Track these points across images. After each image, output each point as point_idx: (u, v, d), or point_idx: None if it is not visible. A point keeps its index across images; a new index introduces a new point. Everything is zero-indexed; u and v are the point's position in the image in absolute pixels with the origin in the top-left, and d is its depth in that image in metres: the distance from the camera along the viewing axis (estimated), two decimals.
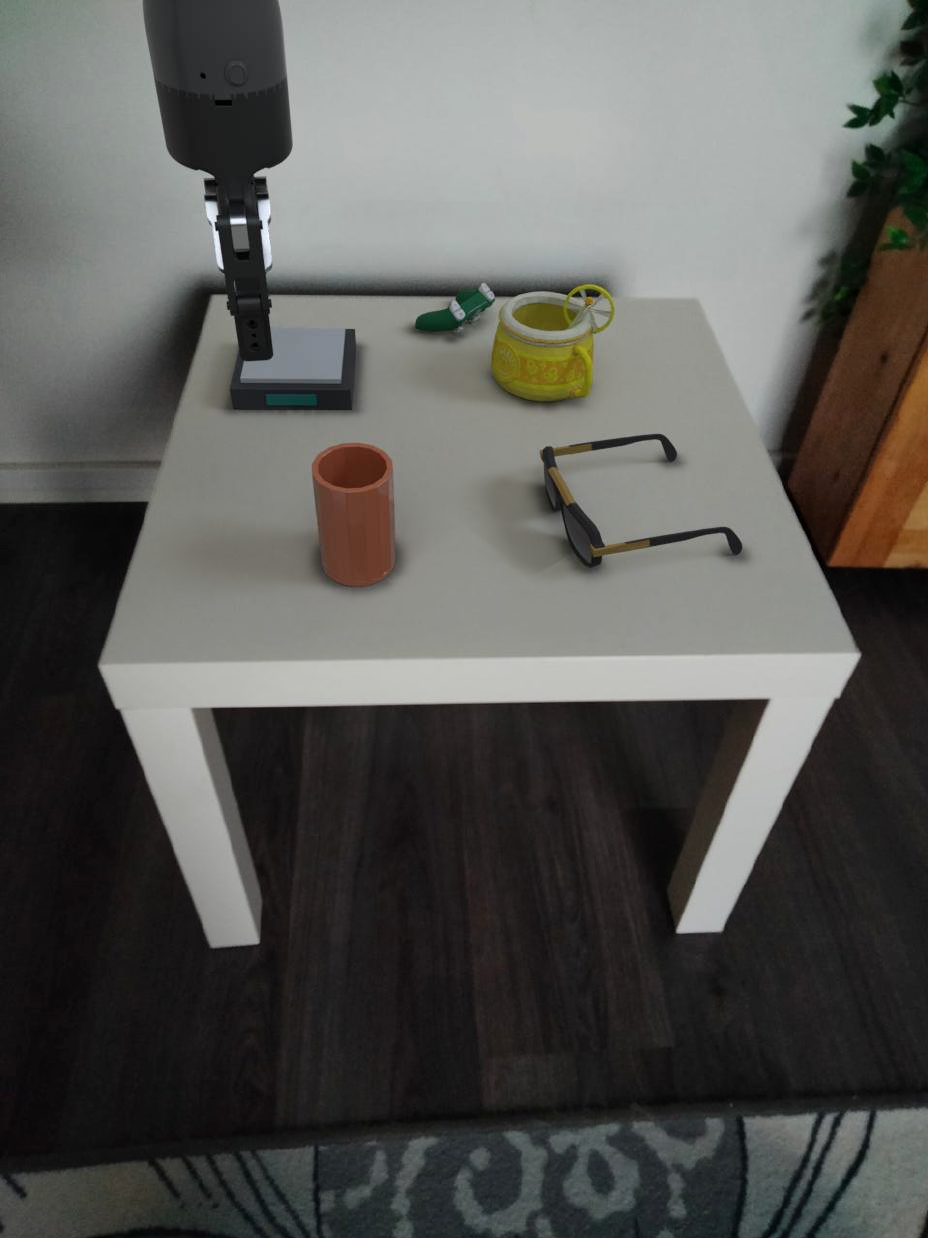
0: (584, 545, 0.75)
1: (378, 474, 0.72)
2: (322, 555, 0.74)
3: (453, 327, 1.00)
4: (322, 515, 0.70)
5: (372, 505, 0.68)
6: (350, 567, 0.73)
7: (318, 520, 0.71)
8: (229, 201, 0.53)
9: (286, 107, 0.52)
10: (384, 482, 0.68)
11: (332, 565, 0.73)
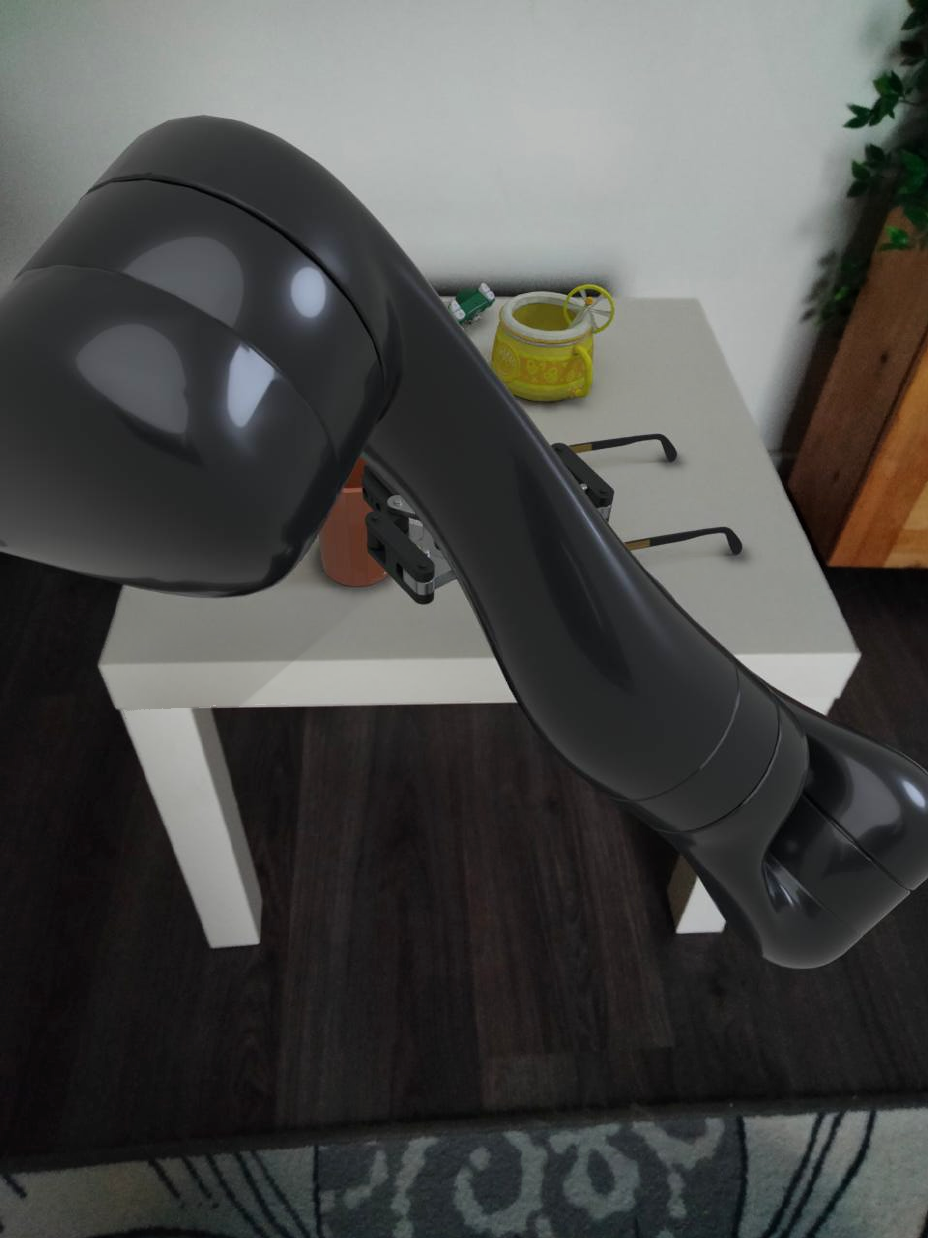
0: None
1: None
2: (322, 555, 0.74)
3: None
4: None
5: None
6: (350, 567, 0.73)
7: None
8: None
9: None
10: None
11: (332, 565, 0.73)
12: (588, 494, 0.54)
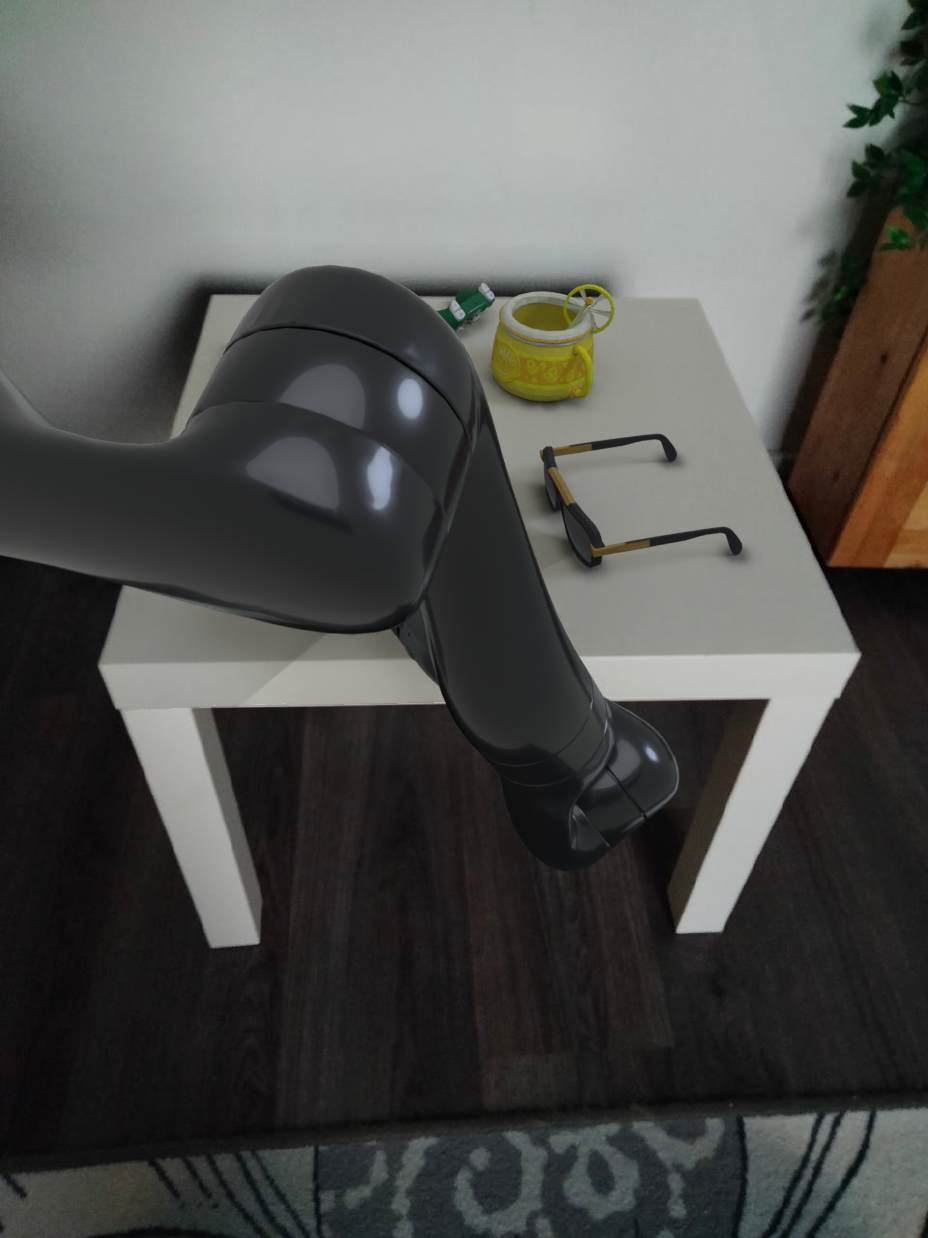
0: (584, 545, 0.75)
1: None
2: None
3: (453, 327, 1.00)
4: None
5: None
6: None
7: None
8: None
9: None
10: None
11: None
12: None
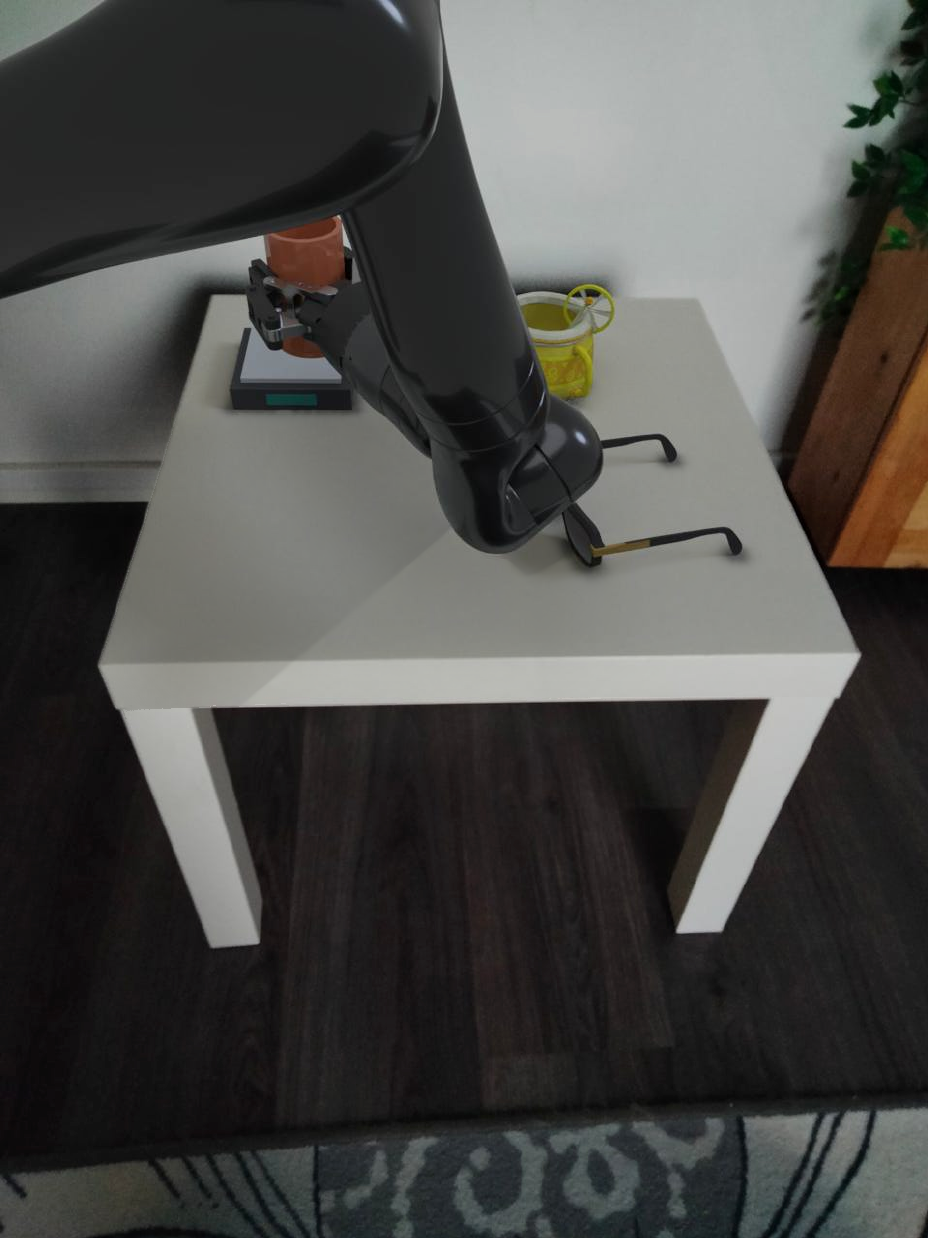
0: (584, 545, 0.75)
1: None
2: None
3: None
4: None
5: (321, 260, 0.70)
6: None
7: None
8: None
9: None
10: (332, 236, 0.70)
11: None
12: None
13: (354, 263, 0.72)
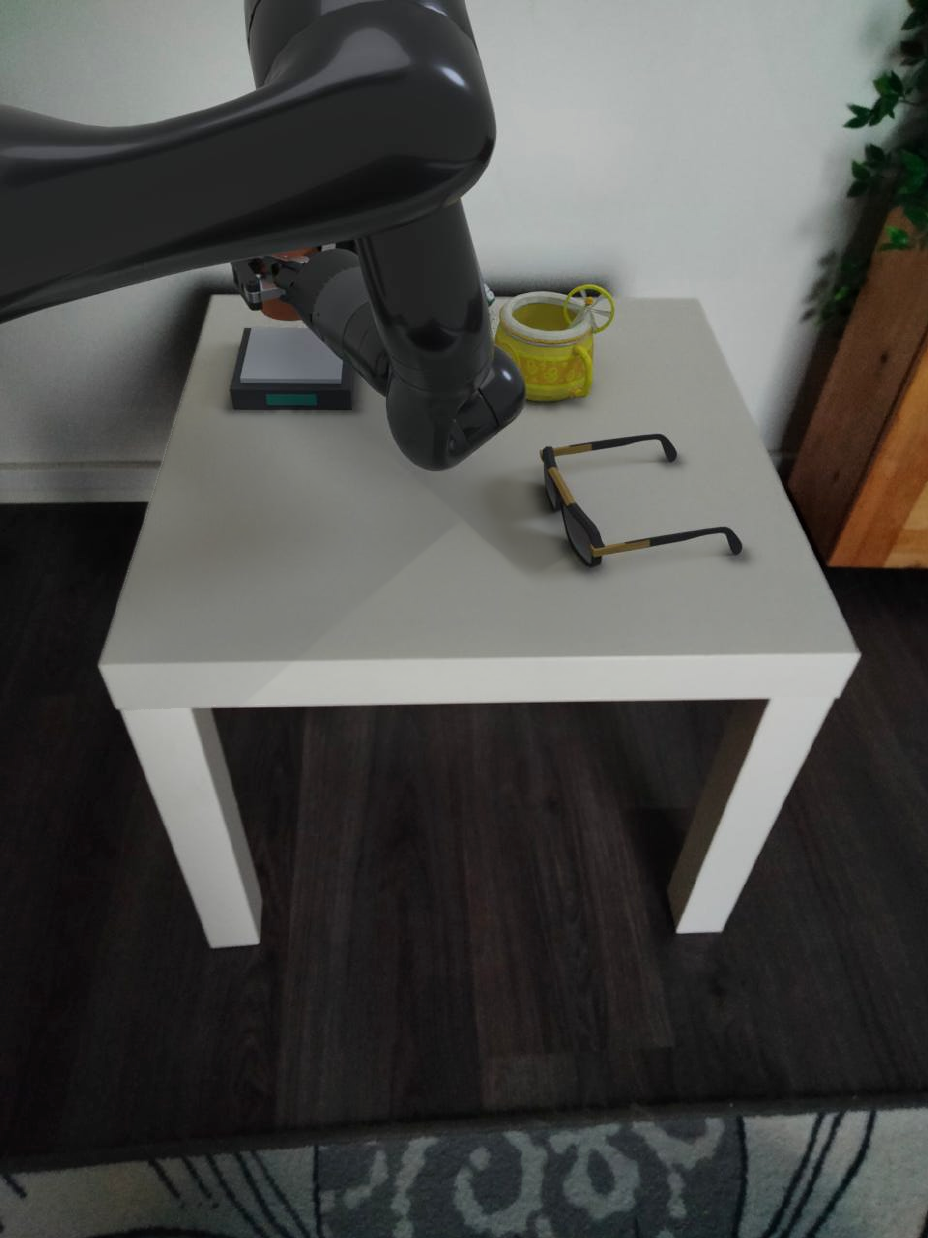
0: (584, 545, 0.75)
1: None
2: None
3: None
4: None
5: None
6: None
7: None
8: None
9: None
10: None
11: (266, 300, 0.86)
12: None
13: None
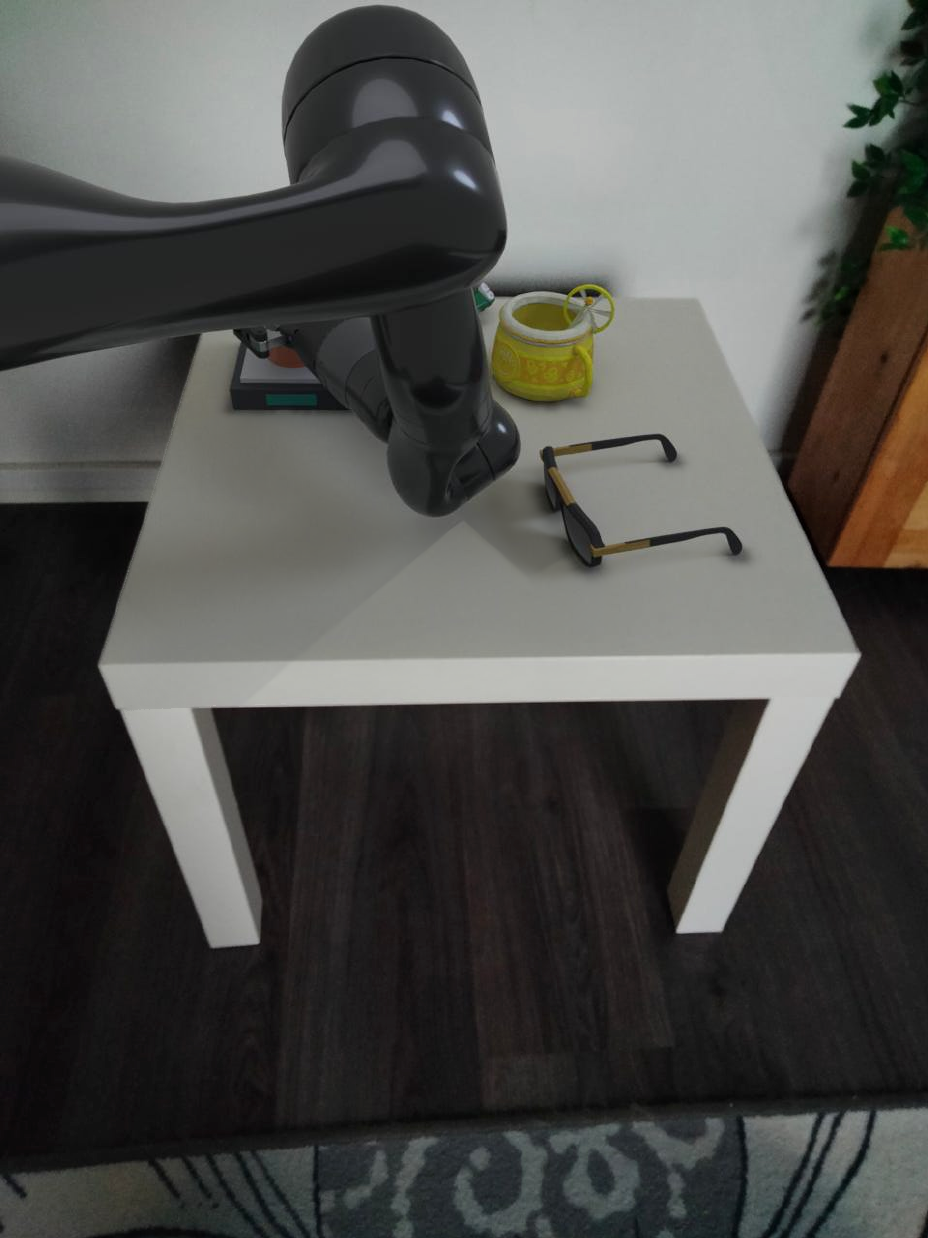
0: (584, 545, 0.75)
1: None
2: None
3: None
4: None
5: None
6: (286, 348, 0.89)
7: None
8: None
9: None
10: None
11: (272, 348, 0.90)
12: None
13: None
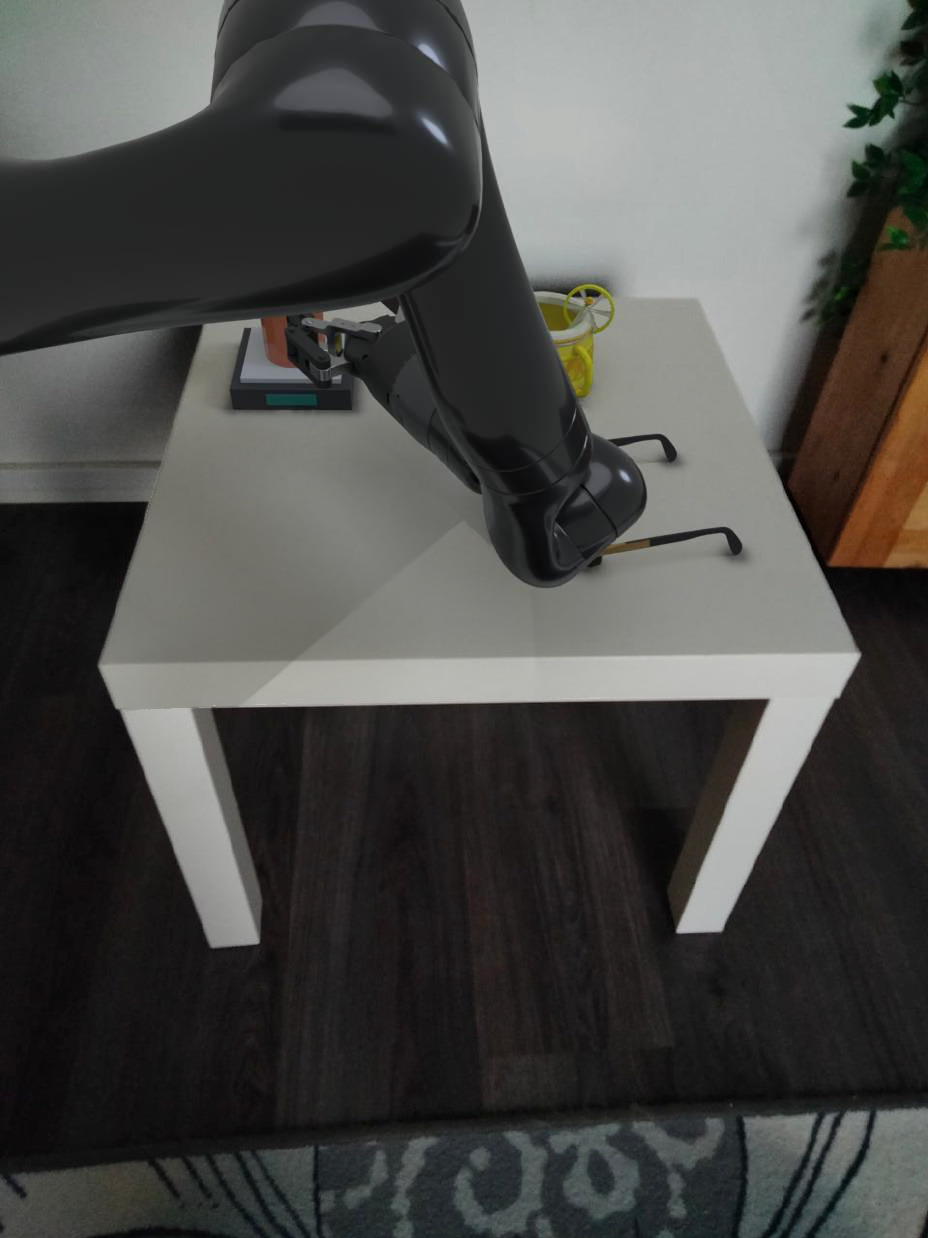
0: None
1: None
2: (264, 342, 0.91)
3: None
4: None
5: None
6: (286, 348, 0.89)
7: None
8: None
9: None
10: None
11: (272, 348, 0.90)
12: None
13: None
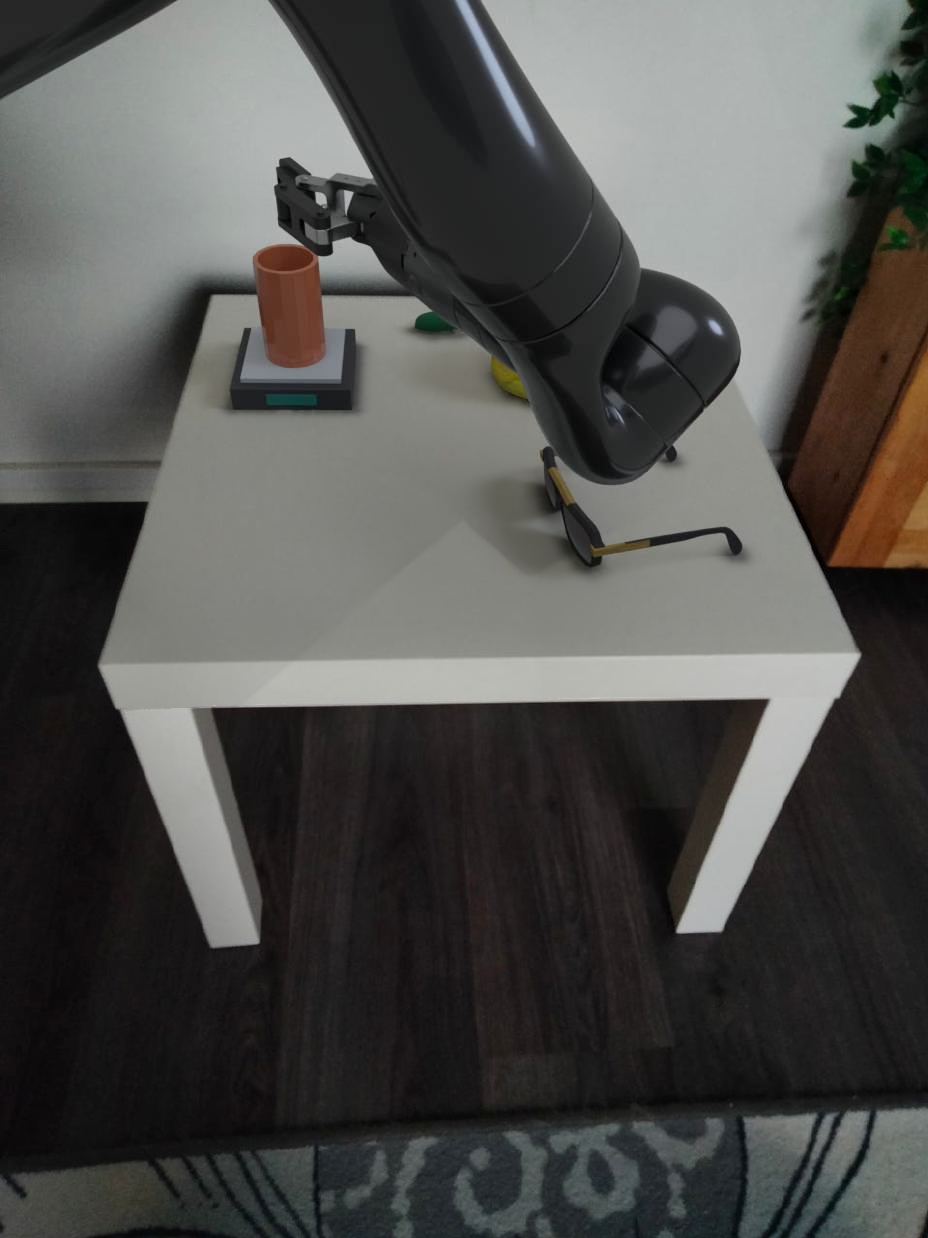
0: (584, 545, 0.75)
1: None
2: (264, 342, 0.91)
3: (453, 327, 1.00)
4: (262, 299, 0.86)
5: (301, 288, 0.85)
6: (286, 348, 0.89)
7: (259, 307, 0.88)
8: None
9: None
10: (310, 268, 0.85)
11: (272, 348, 0.90)
12: None
13: None
